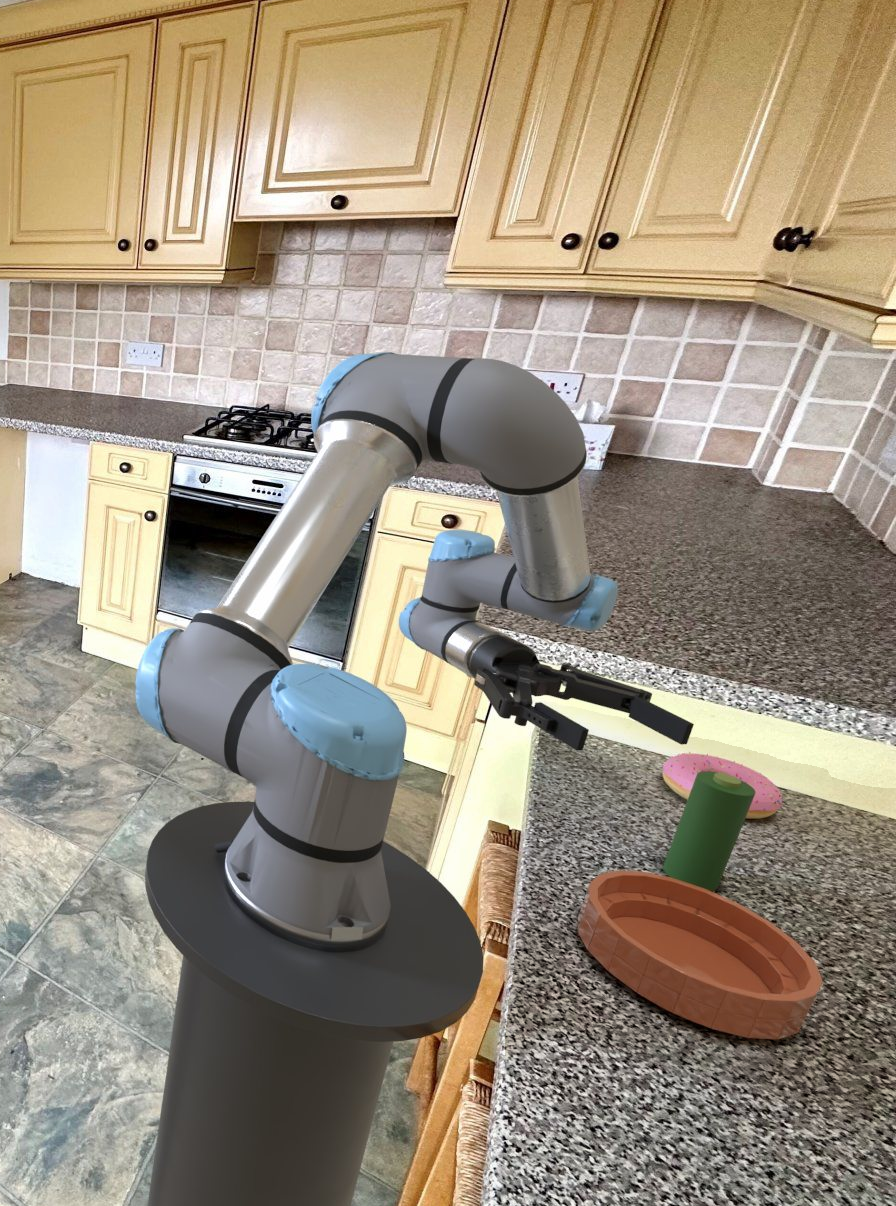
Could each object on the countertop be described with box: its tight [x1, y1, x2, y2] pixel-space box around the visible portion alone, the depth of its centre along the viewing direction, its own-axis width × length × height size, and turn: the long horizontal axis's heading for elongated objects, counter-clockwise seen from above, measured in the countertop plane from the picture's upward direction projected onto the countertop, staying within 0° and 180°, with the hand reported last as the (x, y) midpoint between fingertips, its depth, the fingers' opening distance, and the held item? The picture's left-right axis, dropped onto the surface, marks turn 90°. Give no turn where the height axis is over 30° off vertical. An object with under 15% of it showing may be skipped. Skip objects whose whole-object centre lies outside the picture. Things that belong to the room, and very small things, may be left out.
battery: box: [662, 771, 756, 892], centre depth 82 cm, size 4×4×13 cm
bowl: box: [577, 869, 823, 1040], centre depth 71 cm, size 15×15×5 cm
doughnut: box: [662, 751, 784, 819], centre depth 98 cm, size 11×11×4 cm
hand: (636, 737), depth 90 cm, fingers open, 13 cm apart
